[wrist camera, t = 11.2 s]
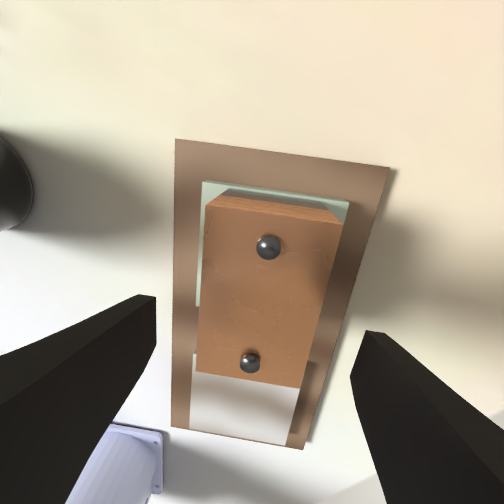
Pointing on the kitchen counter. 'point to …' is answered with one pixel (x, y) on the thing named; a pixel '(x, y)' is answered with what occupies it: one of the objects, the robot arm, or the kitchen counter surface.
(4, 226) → the supplement bottle
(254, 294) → the plate
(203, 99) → the kitchen counter surface
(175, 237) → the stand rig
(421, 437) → the robot arm
